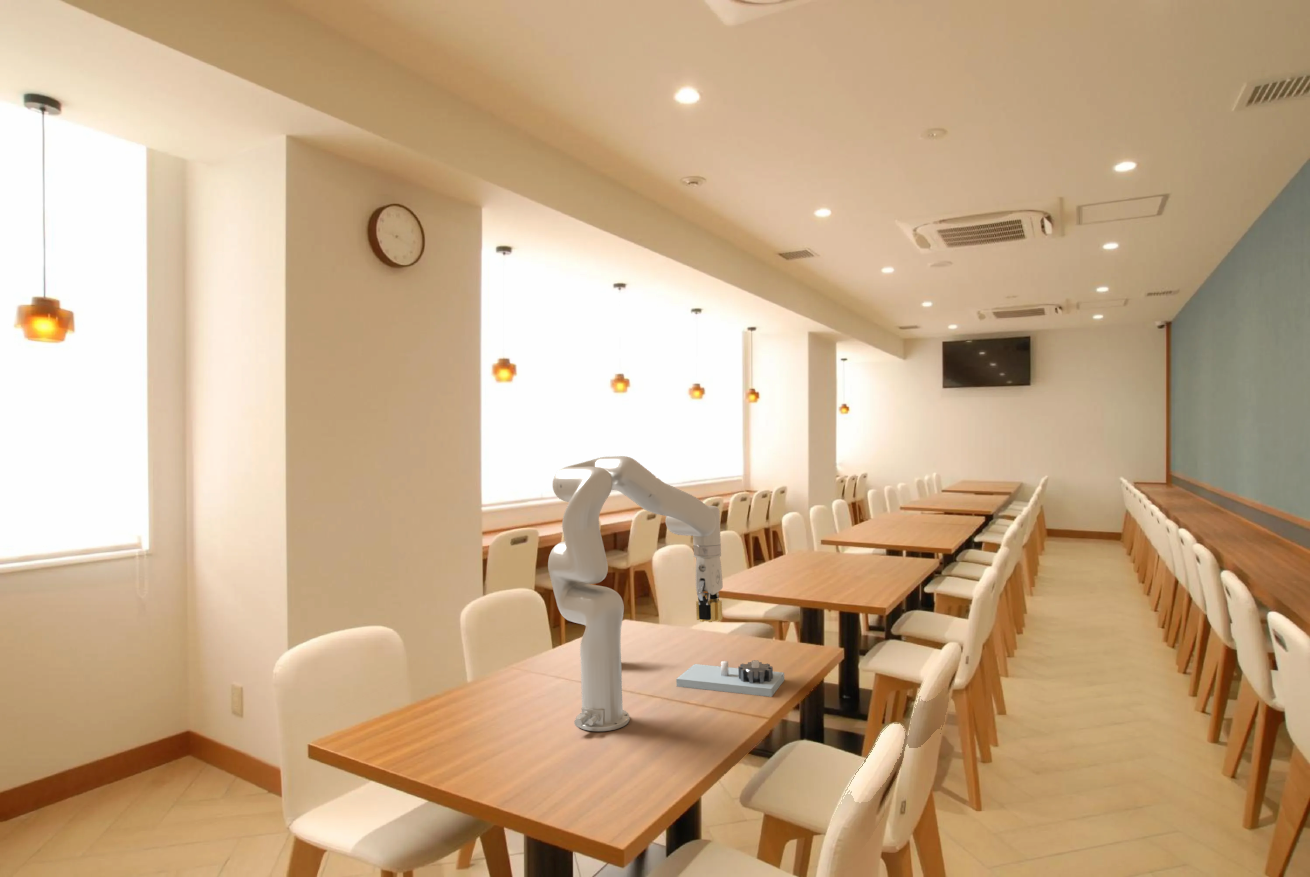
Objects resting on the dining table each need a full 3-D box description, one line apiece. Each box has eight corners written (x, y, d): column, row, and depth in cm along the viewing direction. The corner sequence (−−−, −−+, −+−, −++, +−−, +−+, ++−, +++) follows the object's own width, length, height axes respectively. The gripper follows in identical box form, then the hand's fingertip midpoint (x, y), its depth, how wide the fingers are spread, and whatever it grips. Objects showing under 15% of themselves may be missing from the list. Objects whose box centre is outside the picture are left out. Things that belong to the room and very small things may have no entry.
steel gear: (767, 685, 182) (767, 673, 182) (734, 681, 186) (734, 670, 186) (776, 674, 190) (775, 663, 190) (744, 671, 194) (744, 660, 194)
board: (771, 696, 179) (770, 671, 179) (676, 686, 190) (675, 661, 190) (784, 680, 192) (783, 655, 192) (694, 671, 202) (694, 648, 203)
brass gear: (717, 622, 189) (717, 604, 189) (693, 621, 192) (693, 602, 192) (724, 617, 195) (724, 599, 195) (701, 615, 198) (700, 597, 198)
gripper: (710, 556, 184) (713, 624, 184) (729, 547, 200) (731, 610, 200) (683, 555, 187) (685, 622, 187) (704, 546, 203) (706, 608, 203)
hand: (709, 615), depth 193 cm, fingers closed on brass gear, 6 cm apart
